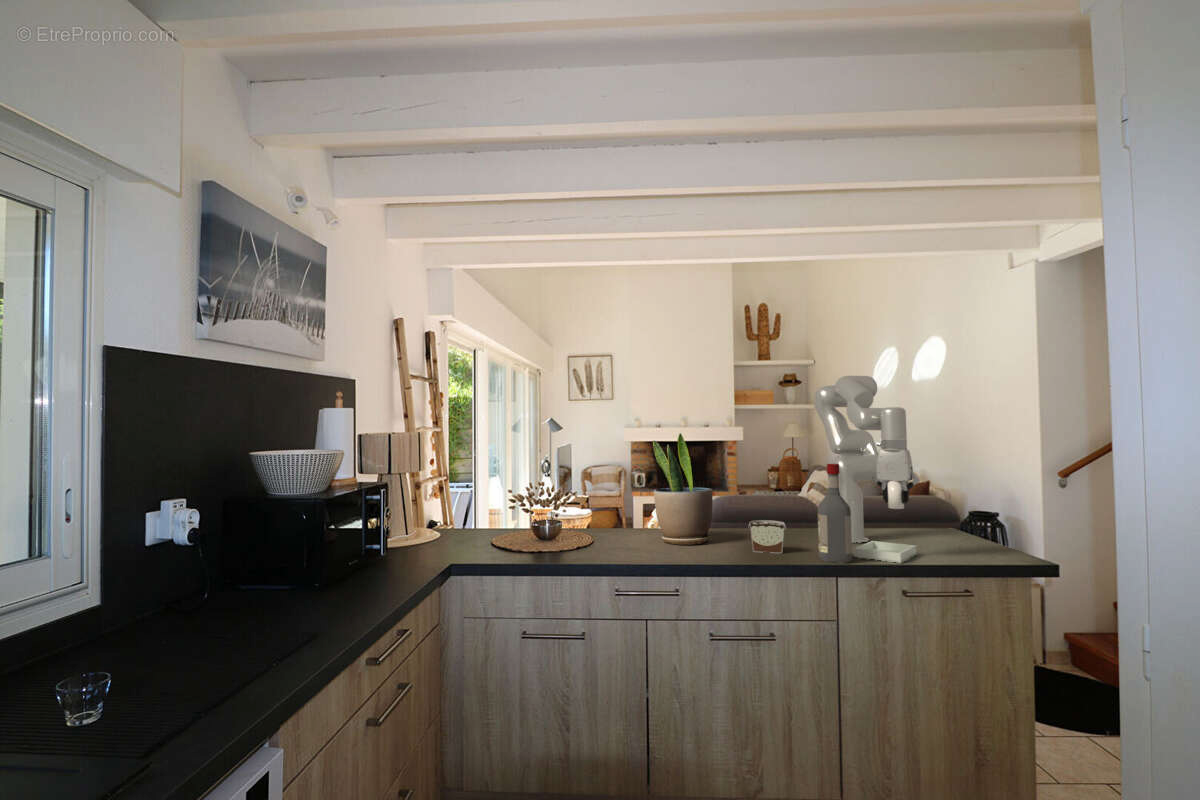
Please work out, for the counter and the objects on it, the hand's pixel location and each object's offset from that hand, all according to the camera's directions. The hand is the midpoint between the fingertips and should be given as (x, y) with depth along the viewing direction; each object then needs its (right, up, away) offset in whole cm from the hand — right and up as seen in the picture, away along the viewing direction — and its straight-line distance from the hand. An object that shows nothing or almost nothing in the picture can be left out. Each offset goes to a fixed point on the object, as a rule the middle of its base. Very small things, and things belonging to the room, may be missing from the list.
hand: (896, 502), depth 200 cm
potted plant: (-64, -20, +30) cm, 73 cm away
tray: (-3, -18, +1) cm, 18 cm away
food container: (-38, -19, +11) cm, 44 cm away
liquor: (-21, -18, -5) cm, 28 cm away
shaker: (0, -2, 0) cm, 2 cm away
